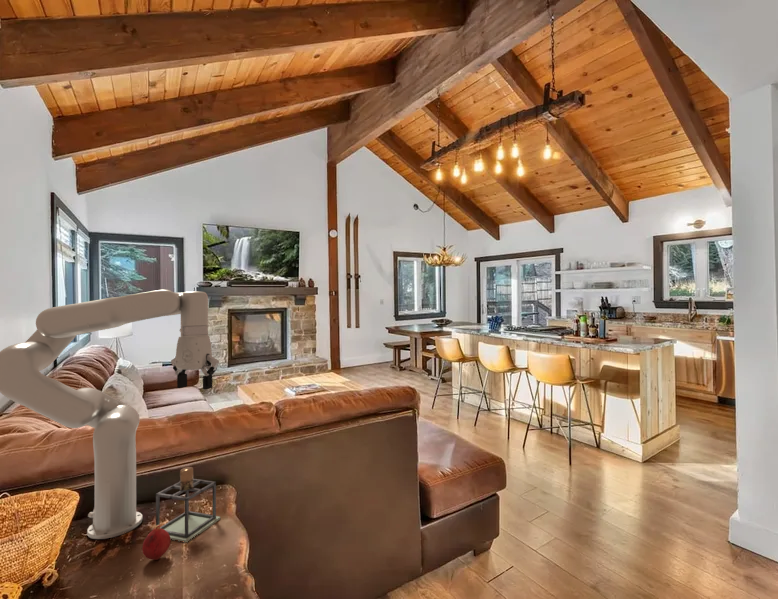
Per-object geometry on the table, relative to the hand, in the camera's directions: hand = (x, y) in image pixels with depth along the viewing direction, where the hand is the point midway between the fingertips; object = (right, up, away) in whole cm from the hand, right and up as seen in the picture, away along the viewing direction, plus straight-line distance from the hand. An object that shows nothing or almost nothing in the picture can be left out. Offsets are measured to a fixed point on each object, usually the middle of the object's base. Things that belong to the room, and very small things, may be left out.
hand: (194, 388), depth 118 cm
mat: (+3, -36, -11) cm, 38 cm away
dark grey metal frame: (+3, -35, -11) cm, 37 cm away
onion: (+3, -36, -25) cm, 44 cm away
